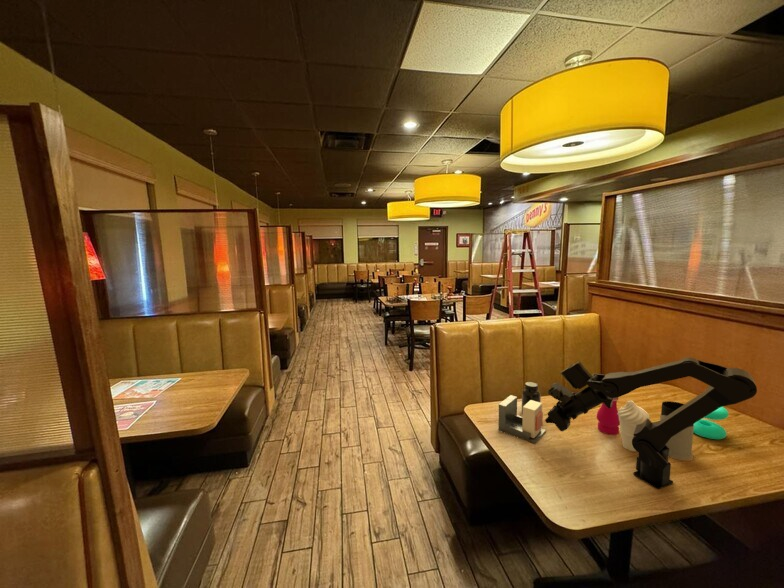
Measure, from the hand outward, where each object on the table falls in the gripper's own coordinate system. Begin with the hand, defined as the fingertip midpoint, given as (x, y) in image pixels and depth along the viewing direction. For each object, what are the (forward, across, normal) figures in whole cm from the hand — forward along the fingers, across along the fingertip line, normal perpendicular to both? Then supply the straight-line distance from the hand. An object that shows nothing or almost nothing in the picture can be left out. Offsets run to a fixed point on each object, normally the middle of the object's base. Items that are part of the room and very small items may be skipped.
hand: (546, 421), depth 107 cm
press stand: (+10, 0, -1) cm, 11 cm away
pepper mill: (-5, -21, +15) cm, 26 cm away
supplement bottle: (+13, -16, -3) cm, 20 cm away
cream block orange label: (+7, 0, +1) cm, 7 cm away
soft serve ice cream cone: (-11, -14, +20) cm, 27 cm away
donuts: (-23, -41, +32) cm, 57 cm away
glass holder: (-19, -22, +28) cm, 40 cm away
